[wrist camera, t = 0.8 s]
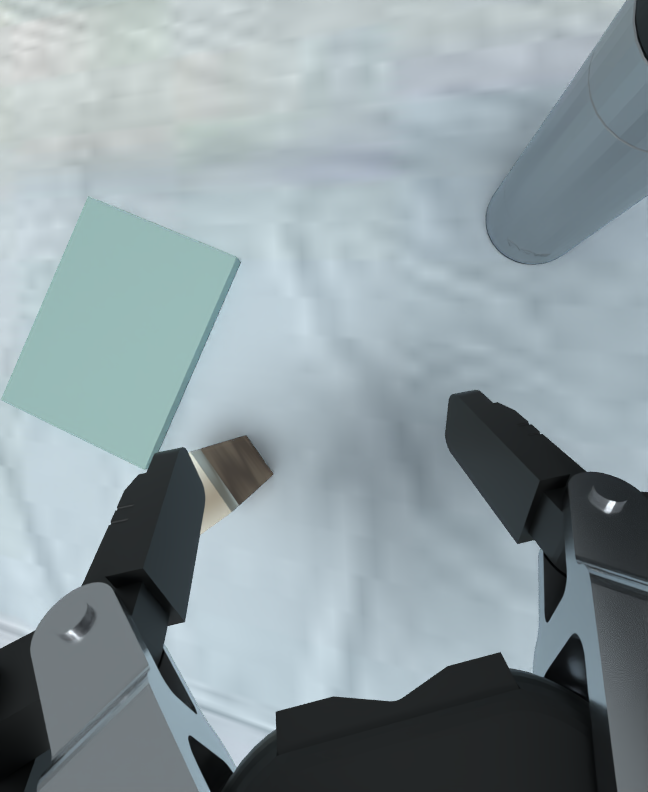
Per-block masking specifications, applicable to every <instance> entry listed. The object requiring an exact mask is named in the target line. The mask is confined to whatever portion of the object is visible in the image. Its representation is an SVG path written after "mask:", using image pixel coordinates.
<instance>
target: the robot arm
mask: <svg viewBox="0 0 648 792" xmlns="http://www.w3.org/2000/svg"><path fill="white" fill-rule="evenodd" d="M647 195H648V0H626V2H625V3H624V5H623V6H622V8H621V9H620V10H619V12H618V13H617V15H616V16H615V18H614V19H613V21H612V22H611V24H610V25H609V27H608V28H607V30H606V31H605V32H604V34H603V36H602V37H601V39H600V40H599V42H598V43H597V45H596V46H595V48H594V49H593V51H592V52H591V53H590V55H589V56H588V58H587V59H586V61H585V62H584V64H583V65H582V67H581V68H580V70H579V71H578V73H577V74H576V75H575V77H574V78H573V80H572V81H571V83H570V84H569V86H568V87H567V89H566V90H565V92H564V93H563V94H562V96H561V97H560V99H559V100H558V102H557V103H556V105H555V106H554V108H553V109H552V111H551V112H550V114H549V115H548V116H547V118H546V119H545V121H544V122H543V124H542V125H541V127H540V128H539V130H538V131H537V133H536V134H535V136H534V137H533V138H532V140H531V141H530V143H529V144H528V146H527V147H526V149H525V150H524V152H523V153H522V155H521V156H520V157H519V159H518V160H517V162H516V163H515V165H514V166H513V167H512V169H511V170H510V172H509V173H508V175H507V176H506V178H505V179H504V181H503V182H502V184H501V185H500V187H499V188H498V190H497V191H496V192H495V194H494V195H493V197H492V199H491V201H490V203H489V206H488V210H487V214H486V225H487V230H488V234H489V236H490V238H491V240H492V242H493V244H494V245H495V246H496V247H497V249H498V250H499V251H500V252H502V253H503V254H504V255H505V256H507V257H509V258H511V259H513V260H515V261H518V262H521V263H525V264H540V263H546V262H549V261H552V260H555V259H557V258H558V257H560V256H562V255H563V254H565V253H566V252H568V251H569V250H571V249H572V248H574V247H575V246H576V245H578V244H579V243H581V242H582V241H583V240H585V239H586V238H588V237H589V236H591V235H592V234H594V233H595V232H597V231H598V230H599V229H601V228H602V227H604V226H605V225H606V224H608V223H609V222H611V221H612V220H614V219H615V218H616V217H618V216H619V215H621V214H622V213H623V212H625V211H626V210H628V209H629V208H631V207H632V206H633V205H635V204H636V203H638V202H639V201H640V200H642V199H643V198H645V197H646V196H647ZM539 432H540V431H538V430H537V429H536V428H535V427H534V426H533V425H531V424H530V425H529V423H528V421H527V420H526V419H524V418H523V417H522V416H521V415H520V414H519V413H517V412H516V411H515V410H513V409H511V408H509V407H506V406H504V405H502V404H500V403H498V402H497V403H493V402H492V401H490V400H489V399H488V398H487V397H486V396H485V395H484V394H483V393H482V392H480V391H479V390H472V391H467V392H462V393H457V394H452V395H451V396H450V398H449V403H448V412H447V421H446V430H445V438H446V443H447V446H448V448H449V451H450V452H451V454H452V455H453V457H454V458H455V459H456V461H457V462H458V463H459V465H460V466H461V467H462V469H463V470H464V472H465V473H466V474H467V476H468V477H469V478H470V480H471V481H472V483H473V484H474V485H475V487H476V488H477V489H478V491H479V492H480V493H481V495H482V496H483V498H484V499H485V500H486V502H487V503H488V504H489V506H490V507H491V509H492V510H493V511H494V513H495V514H496V515H497V517H498V518H499V519H500V521H501V522H502V524H503V525H504V526H505V528H506V529H507V530H508V532H509V533H510V535H511V536H512V537H513V539H514V540H515V541H516V543H517V544H520V543H524V542H528V541H532V540H535V541H536V543H537V544H538V545H539V547H540V548H541V549H540V551H539V555H538V582H539V629H538V637H537V642H536V646H535V652H534V660H533V674H532V673H529V672H525V671H521V670H516V669H511V668H509V667H508V666H507V664H506V662H505V660H504V658H503V656H502V654H501V652H500V653H496V654H492V655H488V656H484V657H481V658H477V659H473V660H469V661H466V662H462V663H458V664H454V665H451V666H447V667H446V668H444V669H443V670H442V671H440V672H439V673H437V674H436V675H434V676H433V677H432V678H430V679H429V680H427V681H426V682H424V683H423V684H422V685H420V686H419V687H417V688H416V689H415V690H413V691H412V692H410V693H409V694H407V695H406V696H405V697H403V698H402V699H400V700H397V701H379V700H367V699H356V698H344V697H330V698H326V699H322V700H318V701H315V702H311V703H307V704H303V705H300V706H296V707H292V708H288V709H285V710H281V711H277V712H276V730H274V731H273V732H271V733H270V734H268V735H267V736H266V737H265V738H264V739H263V740H262V741H260V742H259V743H258V744H257V745H256V746H255V747H254V748H253V749H252V750H251V751H250V752H249V754H248V755H247V756H246V757H245V758H244V759H243V760H242V761H241V763H240V764H239V766H238V767H236V766H235V764H234V762H233V760H232V758H231V757H230V755H229V753H228V751H227V750H226V748H225V746H224V745H223V743H222V741H221V740H220V738H219V737H218V735H217V734H216V732H215V731H214V730H213V728H212V727H211V726H210V724H209V723H208V721H207V720H206V718H205V717H204V715H203V713H202V711H201V710H200V708H199V706H198V704H197V702H196V701H195V699H194V697H193V695H192V693H191V691H190V690H189V688H188V686H187V684H186V682H185V680H184V679H183V677H182V675H181V673H180V671H179V669H178V668H177V666H176V664H175V662H174V660H173V658H172V657H171V655H170V653H169V651H168V649H167V647H166V646H165V645H164V641H165V636H166V631H167V626H170V625H174V624H178V623H183V622H185V618H186V612H187V607H188V601H189V595H190V589H191V583H192V578H193V572H194V566H195V560H196V554H197V549H198V543H199V537H200V531H201V525H202V520H203V514H204V508H205V490H204V486H203V483H202V481H201V479H200V476H199V474H198V472H197V470H196V468H195V466H194V464H193V462H192V460H191V457H190V455H189V453H188V451H187V450H186V449H185V448H183V447H182V448H177V449H172V450H167V451H162V452H157V453H155V454H154V456H153V458H152V460H151V463H150V465H149V468H148V470H147V473H144V474H139V475H138V476H137V477H136V478H135V479H134V480H133V481H132V483H131V484H130V485H129V486H128V487H127V488H126V489H125V491H124V493H123V495H122V497H121V499H120V502H119V504H118V506H117V511H115V513H114V515H113V517H112V520H111V525H109V526H108V528H107V531H106V533H105V535H104V537H103V540H102V542H101V544H100V546H99V548H98V551H97V553H96V555H95V557H94V560H93V562H92V564H91V566H90V569H89V571H88V573H87V575H86V577H85V580H84V582H83V584H82V586H81V587H79V588H77V589H75V590H73V591H71V592H70V593H68V594H67V595H65V596H64V597H63V598H62V599H60V600H59V601H58V602H57V603H56V604H55V605H54V606H53V607H52V608H51V609H50V610H49V611H48V612H47V613H46V615H45V616H44V617H43V619H42V620H41V622H40V623H39V625H38V627H37V628H36V630H35V631H33V632H31V633H30V634H28V635H26V636H24V637H22V638H20V639H18V640H16V641H14V642H12V643H10V644H8V645H7V646H5V647H3V648H1V649H0V792H648V492H640V491H639V490H638V489H636V488H635V487H634V486H632V485H631V484H629V483H627V482H625V481H624V480H621V479H619V478H617V477H614V476H611V475H608V474H604V473H599V472H586V471H585V470H584V469H583V468H581V467H580V466H579V465H578V464H577V463H576V462H574V461H573V460H572V459H571V458H570V457H569V456H567V455H566V454H565V453H564V452H563V451H562V450H560V449H559V448H558V447H557V446H556V445H555V444H554V443H552V442H551V441H550V440H549V439H548V438H547V437H545V436H544V435H543V434H540V433H539Z"/></svg>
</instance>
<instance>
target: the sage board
mask: <svg viewBox="0 0 648 792" xmlns="http://www.w3.org/2000/svg"><path fill="white" fill-rule="evenodd" d="M239 265H240V261H239V260H238V258H237V257H235V256H233V255H230V254H228V253H225V252H223V251H220V250H218V249H216V248H213V247H211V246H208V245H206V244H203V243H201V242H198V241H196V240H194V239H191V238H189V237H186V236H184V235H181V234H179V233H177V232H174V231H172V230H169V229H167V228H164V227H162V226H159V225H157V224H155V223H152V222H150V221H147V220H145V219H142V218H140V217H138V216H135V215H133V214H130V213H128V212H125V211H123V210H120V209H118V208H116V207H113V206H111V205H108V204H106V203H103V202H101V201H99V200H96V199H94V198H91V197H89V196H88V198H87V201H86V203H85V205H84V207H83V210H82V212H81V214H80V217H79V219H78V221H77V224H76V226H75V228H74V231H73V233H72V235H71V238H70V240H69V242H68V245H67V247H66V249H65V252H64V254H63V256H62V259H61V261H60V263H59V266H58V268H57V270H56V273H55V275H54V277H53V280H52V282H51V284H50V287H49V289H48V291H47V294H46V296H45V298H44V301H43V303H42V305H41V308H40V310H39V312H38V315H37V317H36V319H35V322H34V324H33V326H32V329H31V331H30V333H29V336H28V338H27V340H26V343H25V345H24V347H23V350H22V352H21V354H20V357H19V359H18V361H17V364H16V366H15V368H14V371H13V373H12V375H11V378H10V380H9V382H8V385H7V387H6V389H5V391H4V394H3V396H2V398H1V400H2V401H4V402H6V403H8V404H10V405H12V406H14V407H16V408H18V409H20V410H22V411H25V412H27V413H29V414H31V415H33V416H35V417H37V418H39V419H41V420H43V421H45V422H47V423H49V424H51V425H53V426H55V427H57V428H59V429H62V430H64V431H66V432H68V433H70V434H72V435H74V436H76V437H78V438H80V439H82V440H84V441H86V442H88V443H90V444H92V445H94V446H96V447H99V448H101V449H103V450H105V451H107V452H109V453H111V454H113V455H115V456H117V457H119V458H121V459H123V460H125V461H127V462H129V463H131V464H134V465H136V466H138V467H140V468H142V469H144V470H145V469H148V468H149V465H150V463H151V460H152V458H153V456H154V454H155V453H157V452H158V451H159V449H160V446H161V444H162V442H163V440H164V437H165V435H166V433H167V430H168V428H169V426H170V423H171V421H172V419H173V417H174V414H175V412H176V410H177V407H178V405H179V403H180V400H181V398H182V396H183V394H184V391H185V389H186V387H187V384H188V382H189V380H190V377H191V375H192V373H193V371H194V368H195V366H196V364H197V361H198V359H199V357H200V354H201V352H202V350H203V348H204V345H205V343H206V341H207V338H208V336H209V334H210V331H211V329H212V327H213V325H214V322H215V320H216V318H217V315H218V313H219V311H220V308H221V306H222V304H223V302H224V299H225V297H226V295H227V292H228V290H229V288H230V285H231V283H232V281H233V279H234V276H235V274H236V272H237V269H238V267H239Z"/></svg>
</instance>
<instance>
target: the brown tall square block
mask: <svg viewBox="0 0 648 792" xmlns="http://www.w3.org/2000/svg"><path fill="white" fill-rule="evenodd" d="M189 455H190V457H191V460H192V462H193V464H194V466H195V468H196V470H197V472H198V474H199V476H200V479H201V481H202V483H203V486H204V490H205V508H204V514H203V520H202V525H201V531H200V535H201V534H202V533H204V532H205V531H207V530H208V529H209V528H211V527H212V526H213V525H215V524H216V523H218V522H219V521H220V520H222V519H223V518H224V517H226V516H227V515H229V514H230V513H231V512H232V511H234V510H235V509H236V508H237V507H238V506H239V505H240V504H241V503H242V502H244V501H245V500H246V499H247V498H248V497H249V496H250V495H251V494H252V493H254V492H255V491H256V490H257V489H258V488H259V487H260V486H261V485H262V484H263V483H265V482H266V481H267V480H268V479H269V478H270V477H271V476H272V475H273V473H272V471H271V470H270V469H269V467H268V466H267V464H266V463H265V462H264V460H263V459H262V457H261V456H260V454H259V453H258V452H257V450H256V449H255V447H254V446H253V444H252V443H251V442H250V440H249V439H248V437H247V436H242V437H239V438H235V439H232V440H229V441H225V442H222V443H218V444H215V445H211V446H208V447H205V448H201V449H198V450H194V451H191V452H189Z"/></svg>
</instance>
